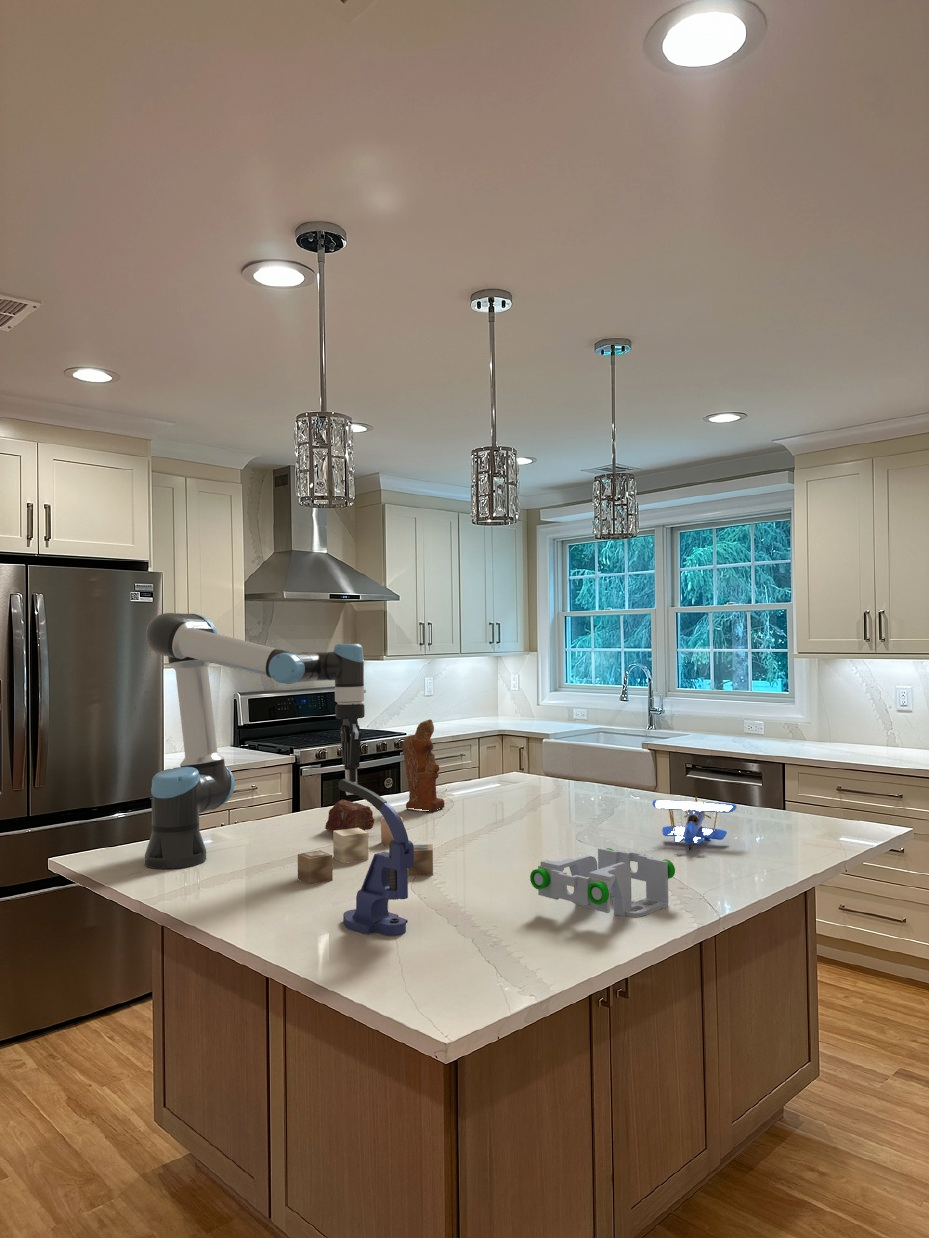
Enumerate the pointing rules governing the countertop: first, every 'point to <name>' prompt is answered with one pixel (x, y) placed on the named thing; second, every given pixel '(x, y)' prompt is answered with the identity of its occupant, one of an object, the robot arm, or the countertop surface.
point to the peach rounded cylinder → (386, 832)
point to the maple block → (350, 845)
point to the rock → (349, 816)
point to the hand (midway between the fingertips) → (351, 793)
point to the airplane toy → (693, 820)
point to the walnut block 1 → (315, 867)
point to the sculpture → (421, 769)
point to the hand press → (381, 874)
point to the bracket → (606, 881)
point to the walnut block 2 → (422, 860)
